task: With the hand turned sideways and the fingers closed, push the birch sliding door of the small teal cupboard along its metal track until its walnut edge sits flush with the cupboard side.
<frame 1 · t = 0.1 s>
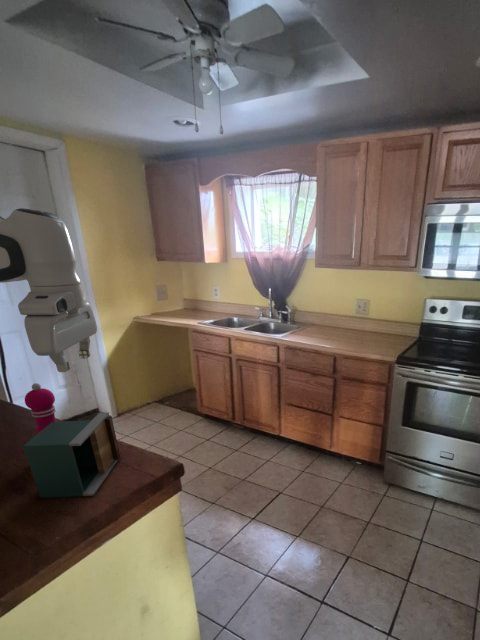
hand: (75, 364, 80), 27 cm above the table, tool pointing down, fingers open, 8 cm apart
sliding door: (105, 444, 88), point 7 cm above the table, slide at 0.0 cm
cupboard: (74, 482, 85), on the table
pepper mill: (56, 456, 96), on the table
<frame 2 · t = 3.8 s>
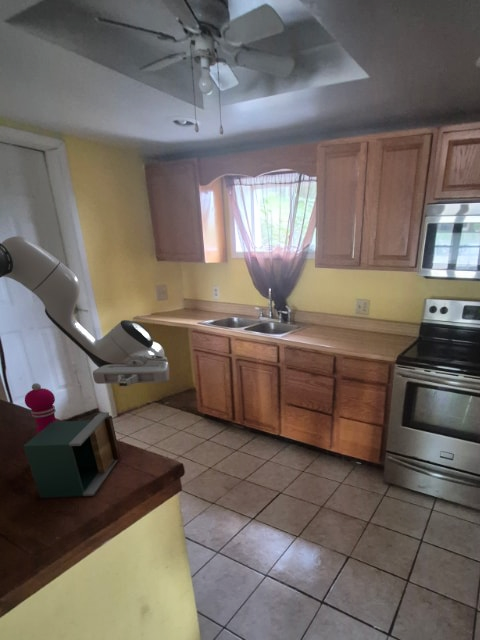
hand: (123, 383, 100), 16 cm above the table, tool horizontal, fingers closed
nothing on the table moved.
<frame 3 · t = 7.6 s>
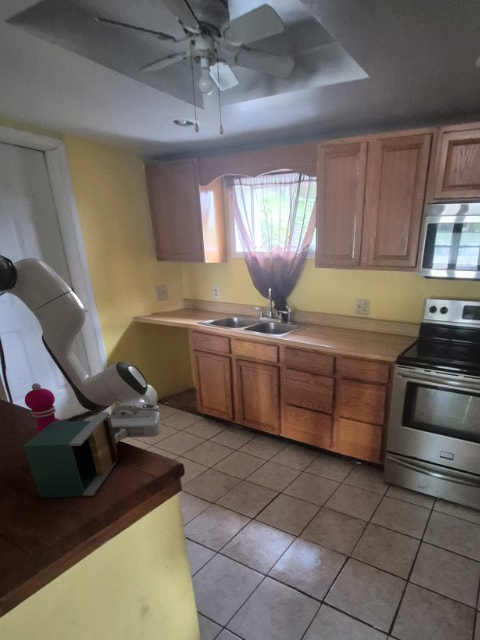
hand: (109, 441, 91), 6 cm above the table, tool horizontal, fingers closed, pressing on sliding door
sliding door: (103, 446, 88), point 7 cm above the table, slide at 0.8 cm, touching gripper
everything else where it was.
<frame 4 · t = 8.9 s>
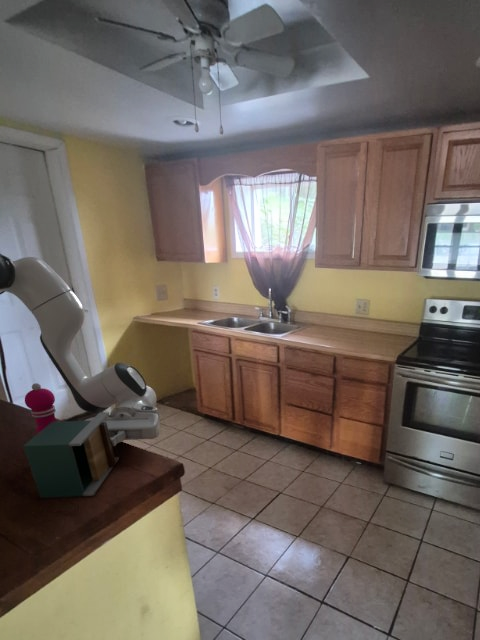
hand: (107, 443, 90), 6 cm above the table, tool horizontal, fingers closed
sliding door: (99, 451, 85), point 7 cm above the table, slide at 3.1 cm
everything else where it was.
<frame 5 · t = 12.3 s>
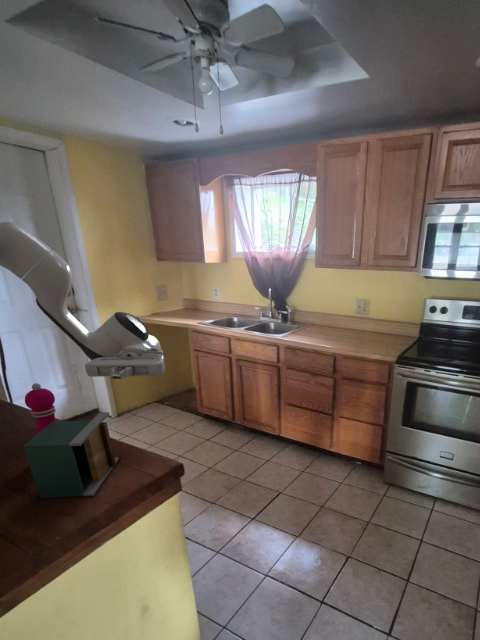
hand: (116, 376, 96), 19 cm above the table, tool horizontal, fingers closed
nothing on the table moved.
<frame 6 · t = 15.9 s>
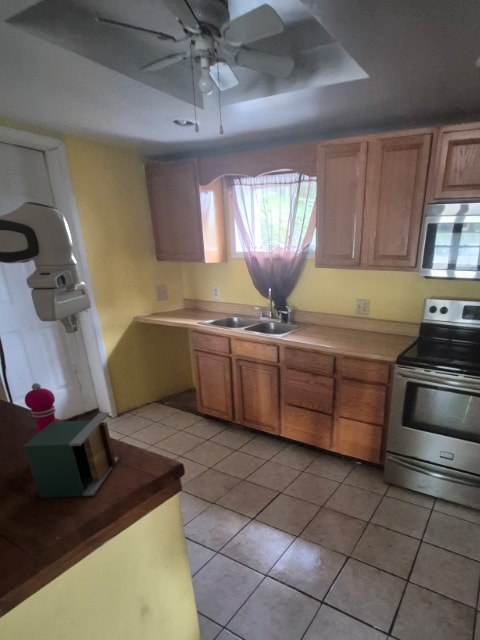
hand: (72, 332, 97), 29 cm above the table, tool pointing down, fingers closed
nothing on the table moved.
at the end: sliding door slide at 3.1 cm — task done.
